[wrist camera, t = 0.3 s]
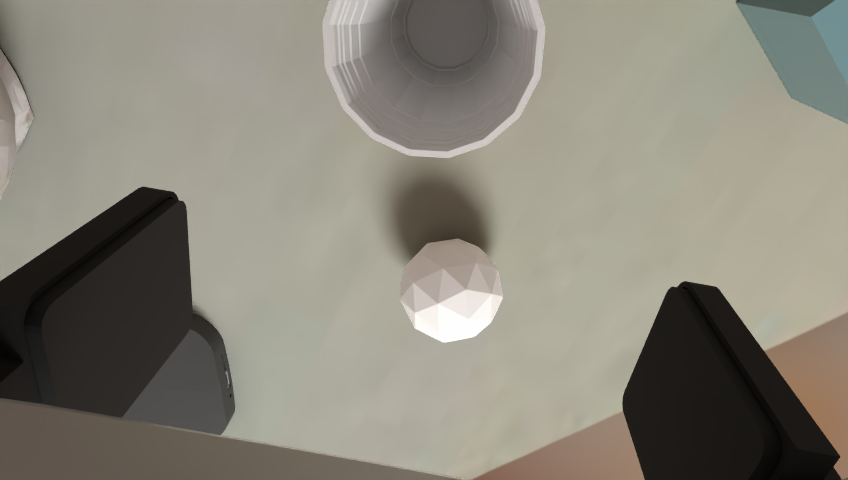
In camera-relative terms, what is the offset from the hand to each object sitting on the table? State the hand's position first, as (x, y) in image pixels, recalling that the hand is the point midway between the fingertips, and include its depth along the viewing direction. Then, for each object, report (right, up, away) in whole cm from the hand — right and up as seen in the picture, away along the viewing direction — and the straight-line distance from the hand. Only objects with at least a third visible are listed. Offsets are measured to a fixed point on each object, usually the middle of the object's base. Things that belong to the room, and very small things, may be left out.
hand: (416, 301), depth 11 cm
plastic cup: (+2, +16, +26) cm, 31 cm away
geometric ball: (+3, -1, +35) cm, 35 cm away
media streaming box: (-26, -11, +43) cm, 52 cm away
